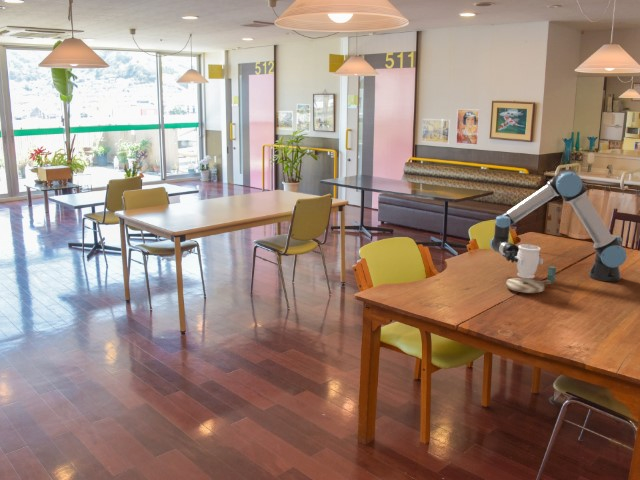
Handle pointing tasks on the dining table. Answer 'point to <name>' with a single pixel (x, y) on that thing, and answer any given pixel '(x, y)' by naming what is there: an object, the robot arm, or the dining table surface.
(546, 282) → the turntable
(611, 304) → the dining table surface
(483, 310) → the dining table surface
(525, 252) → the jar
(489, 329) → the dining table surface
